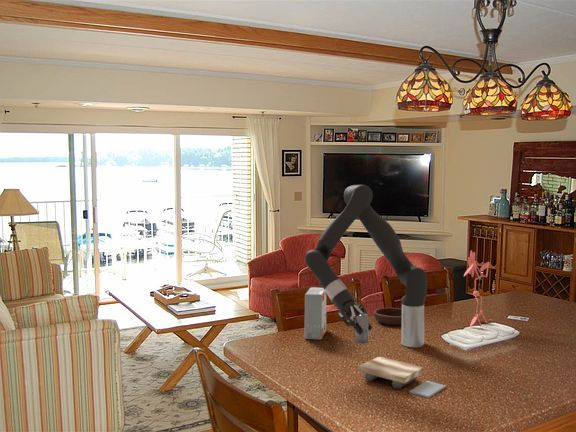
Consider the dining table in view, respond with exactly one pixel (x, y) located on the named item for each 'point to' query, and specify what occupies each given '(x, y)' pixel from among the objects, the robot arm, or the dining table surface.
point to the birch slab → (391, 371)
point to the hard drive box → (315, 313)
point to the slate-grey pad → (427, 389)
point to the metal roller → (364, 323)
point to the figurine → (471, 269)
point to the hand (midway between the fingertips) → (365, 331)
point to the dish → (389, 316)
